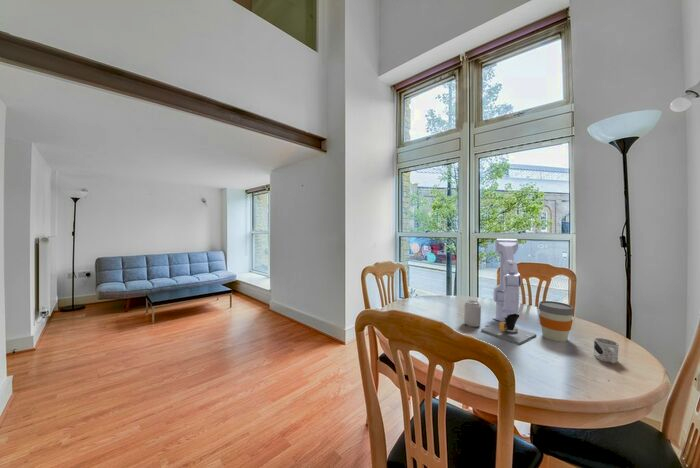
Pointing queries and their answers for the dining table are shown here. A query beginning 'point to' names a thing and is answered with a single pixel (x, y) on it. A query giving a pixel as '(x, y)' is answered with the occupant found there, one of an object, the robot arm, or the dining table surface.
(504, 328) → the black orange block
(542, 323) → the reusable coffee cup
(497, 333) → the panel
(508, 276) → the robot arm
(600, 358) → the mug
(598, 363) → the dining table surface
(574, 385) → the dining table surface
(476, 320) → the white bottle
